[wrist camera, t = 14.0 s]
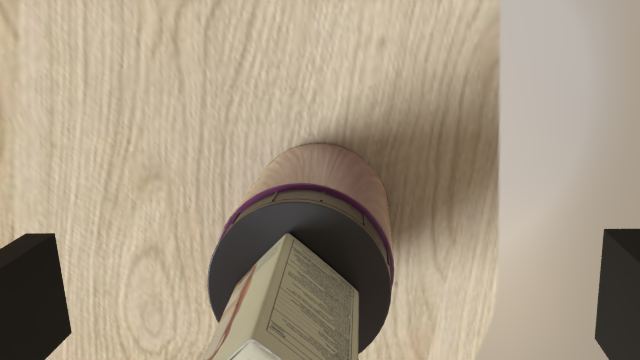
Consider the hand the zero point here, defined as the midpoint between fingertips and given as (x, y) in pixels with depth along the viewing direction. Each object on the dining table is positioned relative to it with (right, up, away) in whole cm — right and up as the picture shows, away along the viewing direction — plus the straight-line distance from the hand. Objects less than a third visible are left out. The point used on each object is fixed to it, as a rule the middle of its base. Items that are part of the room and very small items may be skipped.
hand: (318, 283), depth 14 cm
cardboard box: (-1, -3, +16) cm, 17 cm away
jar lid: (-1, -3, +17) cm, 17 cm away
